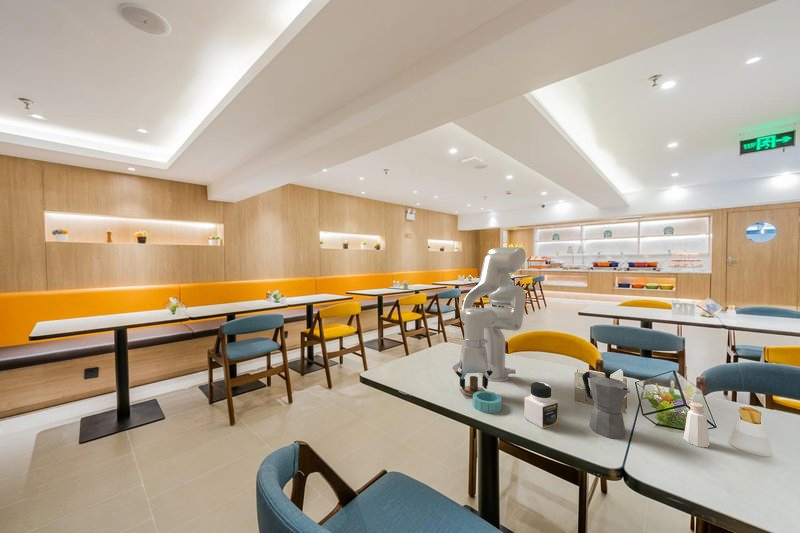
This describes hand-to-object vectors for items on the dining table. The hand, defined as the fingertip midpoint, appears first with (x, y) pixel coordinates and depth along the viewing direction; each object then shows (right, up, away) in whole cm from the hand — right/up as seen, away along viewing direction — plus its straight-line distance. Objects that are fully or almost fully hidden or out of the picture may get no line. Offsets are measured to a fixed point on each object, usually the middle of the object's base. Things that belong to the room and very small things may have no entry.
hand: (473, 387), depth 118 cm
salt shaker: (+56, -3, -31) cm, 64 cm away
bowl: (+2, -3, -11) cm, 11 cm away
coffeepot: (+34, -3, -24) cm, 42 cm away
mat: (0, -3, 0) cm, 3 cm away
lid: (0, -2, 0) cm, 2 cm away
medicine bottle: (+17, -3, -20) cm, 26 cm away
